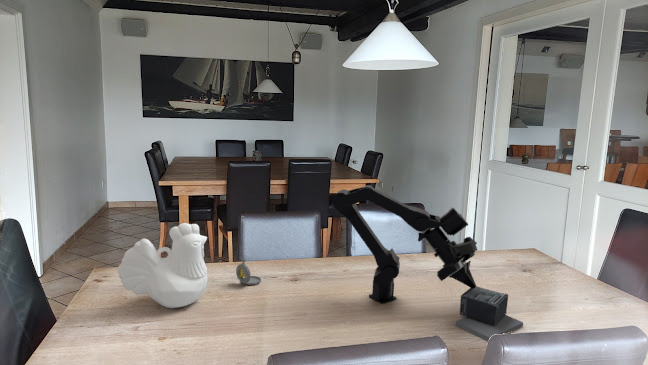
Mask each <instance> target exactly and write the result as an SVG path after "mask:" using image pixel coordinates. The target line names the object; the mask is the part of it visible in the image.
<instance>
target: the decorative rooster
mask: <svg viewBox="0 0 648 365" xmlns="http://www.w3.org/2000/svg"><path fill="white" fill-rule="evenodd" d="M168 234H169V236H170V238H171V240H172V243H171V248H169V247H166V246H161V247H159V248H158V249H157V248H156V247H155V246H154V244H153V243H152V242H151V241H150V240H149V239H147V238H141V239H140V240H139V241H136V242H135V243H134V245H133V247H130V248H129V249H127V251H125V252H124V255H123V257H122V259H121V262H120V264H119V265H118V267H117V269H116V270H117V273H118V278H119V279H120V281H121V284H122V286H123V288H124V289H125V290H127V291H132V293H133V294H135V295H145V294H146V295H147V296H148V297H150V299H152V300H153V301H155V302H156V303H158V304H159V305H161V306H162V307H165V308H167V309H176V308H181V307H186V306H189V305H191V304H193V303H195V302H196V301H197V300H198V299H200V298H201V296H202V295H203V294H204V292H206V291H205V290H206V288H207V285H208V279H209V278H208V268H207V264H206V263H205V260H204V258H205V252H204V249H205V245H204V244H206V241H207V239H208V237H207V236H205V235H201V234H200V226H199V225H198V224H197V223H192V224H190V223H187V222H183V223H180V224H178V226H173V227H171V228H170V230H169V233H168ZM163 252H166V253H167V256H165V257H162V256H161V253H163Z"/></svg>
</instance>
